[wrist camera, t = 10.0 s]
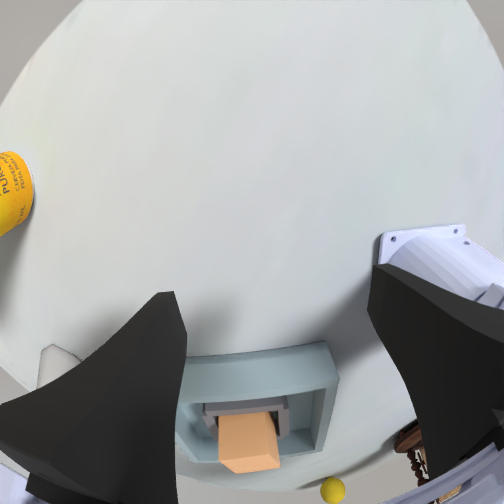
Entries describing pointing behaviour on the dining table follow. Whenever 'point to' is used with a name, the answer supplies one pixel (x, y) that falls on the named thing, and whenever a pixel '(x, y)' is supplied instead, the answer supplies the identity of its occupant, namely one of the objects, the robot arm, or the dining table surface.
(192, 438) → the socket box
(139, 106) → the dining table surface
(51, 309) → the dining table surface
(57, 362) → the flask
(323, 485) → the lemon
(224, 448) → the plug
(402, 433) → the brown tall knobby piece
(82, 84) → the dining table surface
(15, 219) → the beer can
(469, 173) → the dining table surface
